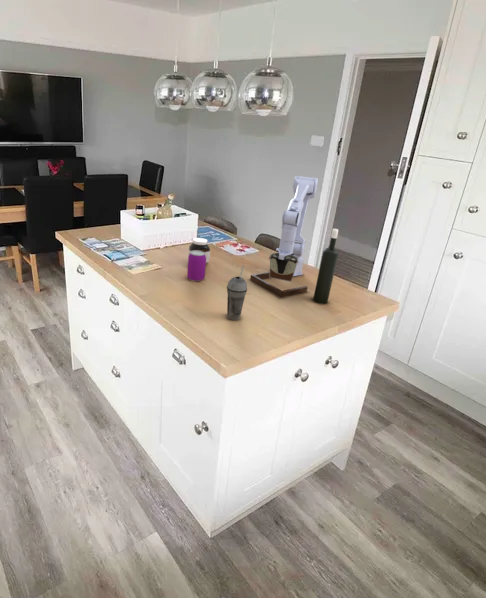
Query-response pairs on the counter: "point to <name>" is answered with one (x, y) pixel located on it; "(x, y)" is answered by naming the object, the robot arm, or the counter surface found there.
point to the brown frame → (258, 280)
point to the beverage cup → (236, 296)
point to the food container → (288, 269)
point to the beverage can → (196, 265)
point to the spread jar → (200, 247)
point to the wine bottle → (326, 271)
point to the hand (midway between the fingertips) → (282, 270)
